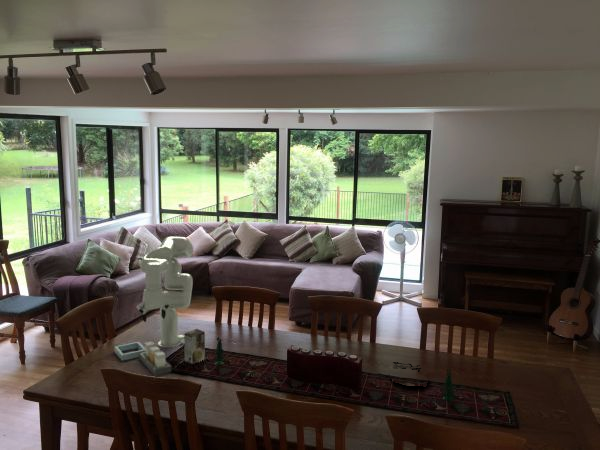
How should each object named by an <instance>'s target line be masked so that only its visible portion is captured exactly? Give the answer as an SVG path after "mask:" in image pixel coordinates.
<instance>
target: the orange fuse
mask: <svg viewBox="0 0 600 450" xmlns="http://www.w3.org/2000/svg"><path fill="white" fill-rule="evenodd" d="M149 351H150V362H151V363H152V362H155V353H157V352H161V349H160V348H159V347H158V346H157V345H156V346H155V347H151V348H149Z"/></svg>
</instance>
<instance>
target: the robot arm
mask: <svg viewBox="0 0 600 450" xmlns="http://www.w3.org/2000/svg"><path fill="white" fill-rule="evenodd" d="M193 254H194V246H193V244H192V243H191V241H190V240H189V239H188V238H187V237H185V236H166V237H165V238H164V239H163V240H162V241H161V243H160V245H159V247H158V248H155V249H153V250H151V251H147V253H145V254H144V255H143V257H142V259H141V262H140V266H139V267H140V271H141V272H142V273H143V274H145V288H144V290H143V293H142V302H140V303H139V304H137V305H136V309H137V310H138V312H139V313H140V314H141V319H142V320H141V321H143V322H144V323H145V322H147V314H146V313H147V312H148V311H151V310H159V312H160V340H159V341H158V342H157V345H158V346H159V347H161V348H173V347H177V346H180V345H181V343H182V342H181V341H182V340H184V335H182V334H179V324H178V323H179V316H178V315H179V314H178V311H177V310H176V309H188V308H189V306H190V305H191V299H192V291H193V284H194V282H193V281H194V279H193V276H192V275H191V274H189V273H182V264H181V262H180V261H179V260H178V259H177V258H187V259H188V258H191V257H192V256H193ZM163 274H165V276H164V281H163V282H162V275H163ZM163 287H164V288H165V289H166V290H163ZM141 307H142V309H141Z"/></svg>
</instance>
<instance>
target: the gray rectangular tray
mask: <svg viewBox="0 0 600 450" xmlns="http://www.w3.org/2000/svg"><path fill="white" fill-rule="evenodd" d="M138 359H139V360H140V361H141V362H142V364H144V366H146V368H147V369H148V370H149V371H150V372H151V373H152V375H153V376H155V377H156V376H161V375H164V374H169V373H171V372H172V365H171V364H170V363H169V362H168V361H167V360H166V359H165V366H164V367H159V368H156V367H155V362H152V363H151V362H150V357H146V356H145V352H142V353H139V357H138Z"/></svg>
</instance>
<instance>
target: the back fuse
mask: <svg viewBox="0 0 600 450" xmlns="http://www.w3.org/2000/svg"><path fill="white" fill-rule="evenodd" d="M144 347H145V356H146V357H150V351H149V348H151V347H156V346H155V343H154V342H153V341H148V342H144Z"/></svg>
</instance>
